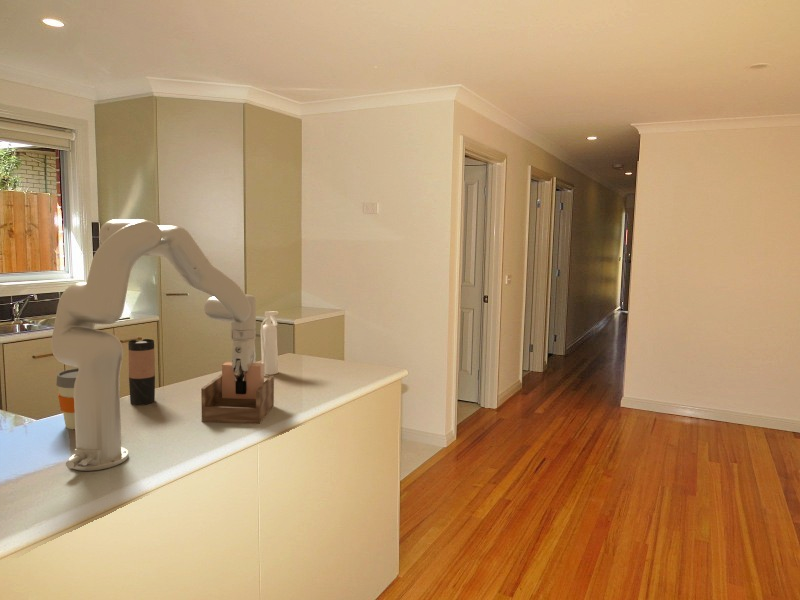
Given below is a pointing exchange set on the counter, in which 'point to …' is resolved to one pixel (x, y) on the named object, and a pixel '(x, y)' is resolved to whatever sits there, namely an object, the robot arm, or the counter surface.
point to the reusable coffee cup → (67, 395)
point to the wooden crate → (236, 404)
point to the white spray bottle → (269, 343)
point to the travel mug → (141, 371)
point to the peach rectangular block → (252, 380)
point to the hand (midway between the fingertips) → (243, 391)
